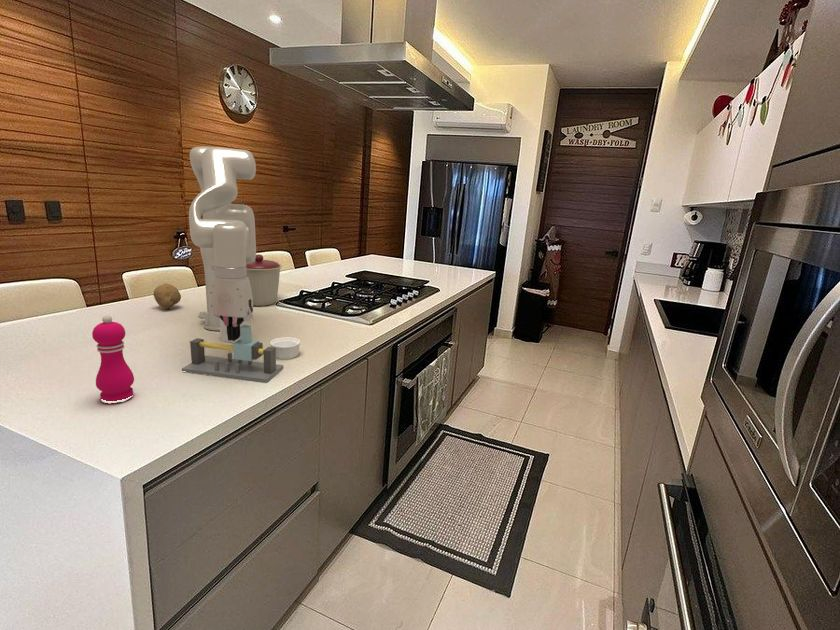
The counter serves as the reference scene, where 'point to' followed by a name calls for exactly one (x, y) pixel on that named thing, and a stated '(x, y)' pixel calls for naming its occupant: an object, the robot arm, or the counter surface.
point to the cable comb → (233, 362)
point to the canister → (263, 280)
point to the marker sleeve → (244, 344)
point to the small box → (224, 331)
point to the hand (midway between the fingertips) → (234, 338)
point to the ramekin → (286, 347)
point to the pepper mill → (112, 361)
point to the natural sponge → (166, 295)
